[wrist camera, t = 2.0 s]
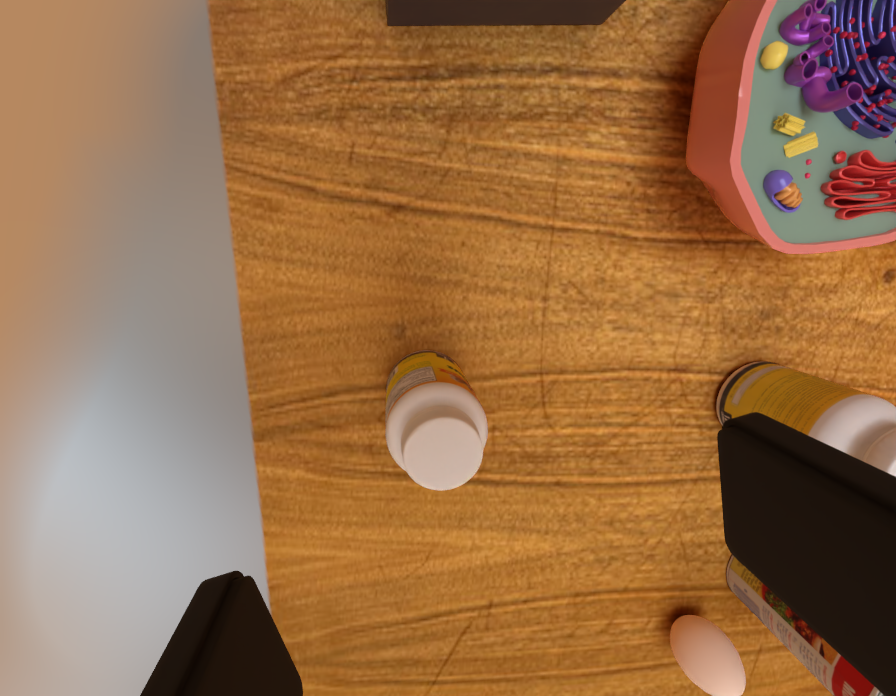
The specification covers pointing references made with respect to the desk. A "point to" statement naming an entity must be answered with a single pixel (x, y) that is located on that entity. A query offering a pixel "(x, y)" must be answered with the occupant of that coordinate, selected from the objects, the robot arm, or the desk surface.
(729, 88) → the cell model
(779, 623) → the canned food
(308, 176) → the desk surface
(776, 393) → the pill bottle
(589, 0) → the tiered shelf
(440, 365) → the supplement bottle
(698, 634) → the egg
